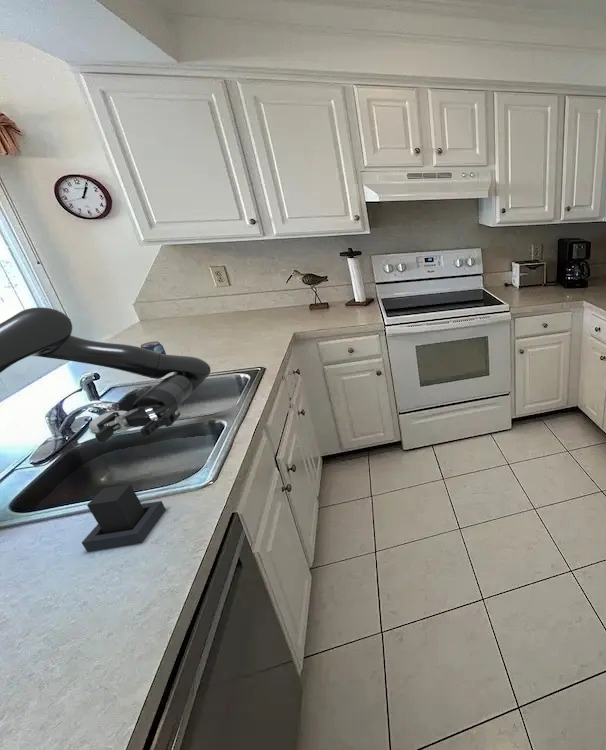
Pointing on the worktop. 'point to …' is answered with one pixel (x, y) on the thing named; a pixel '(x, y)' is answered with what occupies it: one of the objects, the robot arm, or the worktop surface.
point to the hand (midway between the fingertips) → (121, 436)
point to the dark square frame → (129, 537)
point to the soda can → (154, 347)
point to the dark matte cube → (116, 509)
